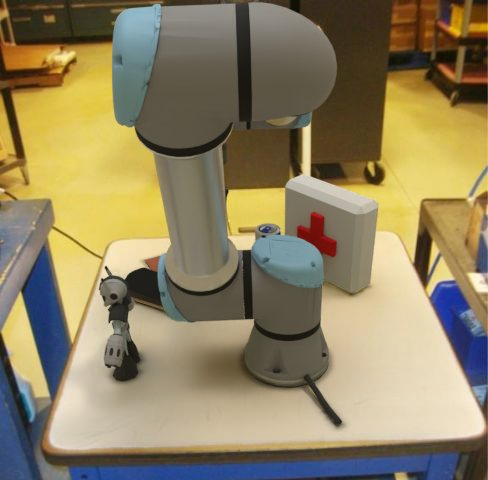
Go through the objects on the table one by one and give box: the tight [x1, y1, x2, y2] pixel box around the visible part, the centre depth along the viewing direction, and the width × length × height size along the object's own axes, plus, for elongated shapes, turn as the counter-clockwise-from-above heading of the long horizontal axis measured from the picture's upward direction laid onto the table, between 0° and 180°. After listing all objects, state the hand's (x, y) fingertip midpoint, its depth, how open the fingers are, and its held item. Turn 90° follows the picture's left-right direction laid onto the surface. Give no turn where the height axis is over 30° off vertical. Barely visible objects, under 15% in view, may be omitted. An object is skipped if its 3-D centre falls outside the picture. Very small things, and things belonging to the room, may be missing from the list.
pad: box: [144, 255, 161, 272], centre depth 144 cm, size 8×20×1 cm, turn 116°
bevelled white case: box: [284, 173, 379, 295], centre depth 130 cm, size 21×8×20 cm, turn 42°
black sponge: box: [124, 267, 165, 312], centre depth 129 cm, size 16×8×4 cm, turn 59°
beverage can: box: [254, 222, 282, 242], centre depth 127 cm, size 5×5×15 cm
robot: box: [98, 265, 141, 382], centre depth 106 cm, size 20×5×20 cm, turn 2°
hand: (214, 251), depth 131 cm, fingers closed
